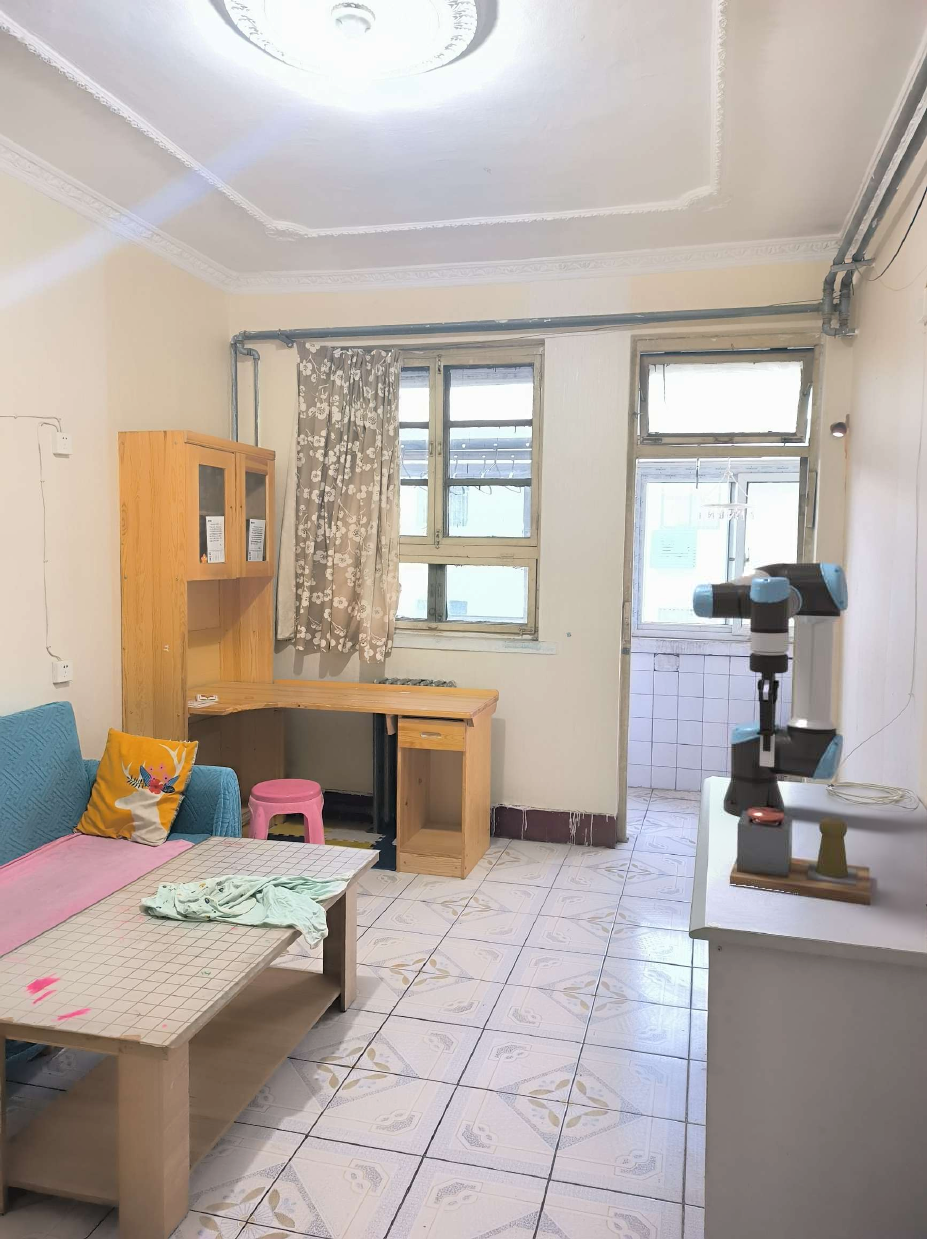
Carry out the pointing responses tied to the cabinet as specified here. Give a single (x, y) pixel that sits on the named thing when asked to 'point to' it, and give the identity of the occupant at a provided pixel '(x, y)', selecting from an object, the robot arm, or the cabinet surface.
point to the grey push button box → (764, 847)
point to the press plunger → (765, 815)
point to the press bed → (812, 882)
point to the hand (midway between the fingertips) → (766, 765)
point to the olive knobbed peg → (832, 849)
